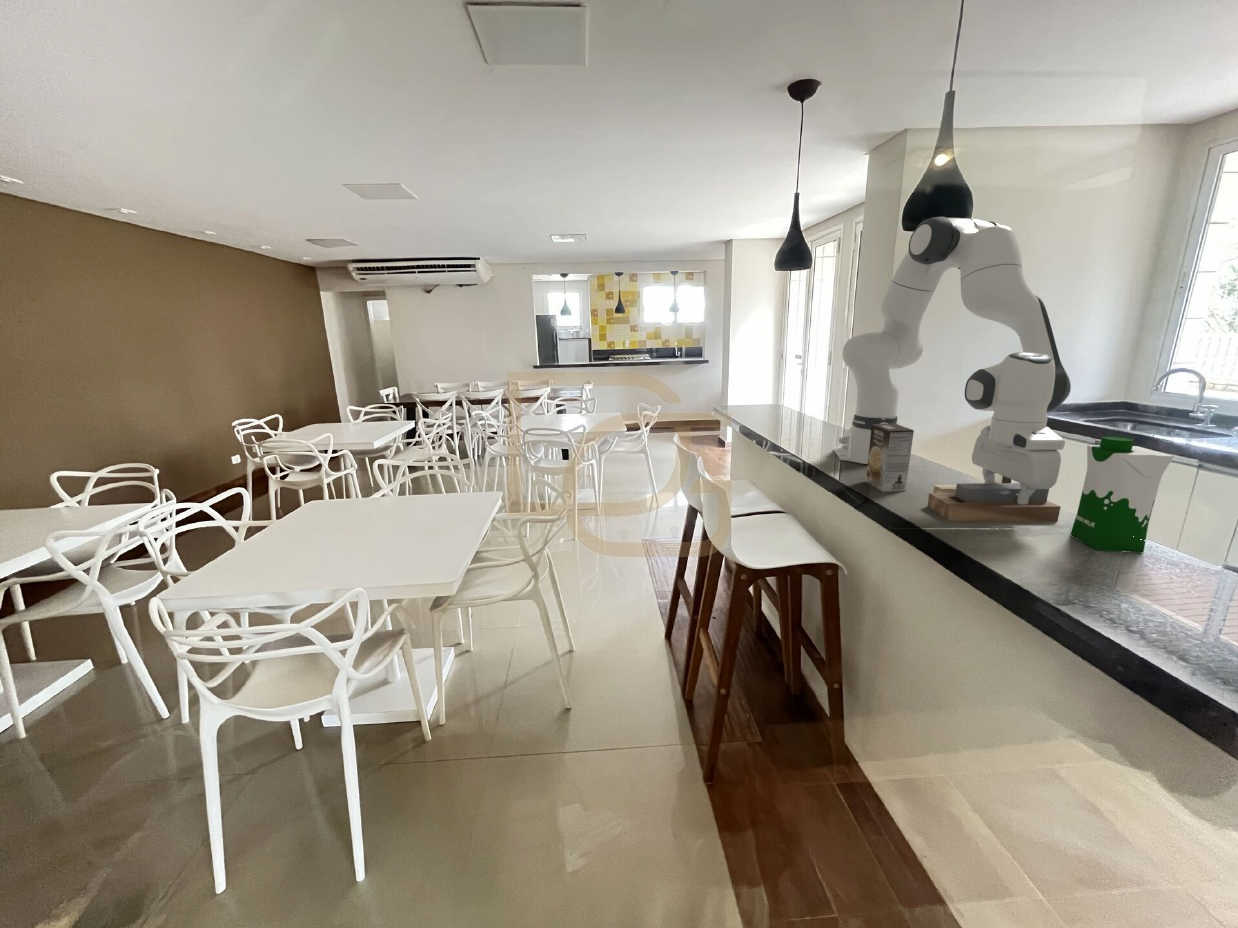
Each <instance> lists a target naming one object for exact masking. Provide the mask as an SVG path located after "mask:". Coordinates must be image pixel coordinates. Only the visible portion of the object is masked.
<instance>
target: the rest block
mask: <svg viewBox="0 0 1238 928" xmlns="http://www.w3.org/2000/svg"><path fill="white" fill-rule="evenodd" d="M956 486H957V484H934V486H933V492H932V493H955V492H956Z"/></svg>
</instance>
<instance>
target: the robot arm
mask: <svg viewBox="0 0 1238 928" xmlns="http://www.w3.org/2000/svg"><path fill="white" fill-rule="evenodd" d="M909 238H910V239H909V240H908V241H909V242H908V251H907V252H906V254H905V255H904V257H903V258H902V261H901V262H900V264H899V265H898V267H897V269H896V271H895V273H894V275H893V277H892V280H891V282H890V283H889V286H888V289H887V291H886V293H885V295H884V298H883V300H882V303H881V304H880V305H881V306H880V310H881V313H882V315H883V316H884V317H885V319H884V320H885V321H884V326H883V328H882V330H881V331H879V332H878V331H877V332H863V333H860V334H858V335H855V336H852V337H850V338H849V339H848V340H847V341H846V342H845V343H844V346H843V348H842V359H843V363H844V364H845V365H846V367H848V368H849V370H850V371H851V372H852V375H853V376H854V380H855V383H856V390H857V392H856V393H857V394H856V396H857V397H856V409H855V414H854V415H853V418H852V423H851V427H850V428H848V429H847V431H845V432H844V433H843V435H842V436H839V439H838V443H839V444H840V445H841V446H840V445H839V446H834V447H833V451H834V452H835V454H836V456H837V457H838V459H839V460H840V461H845V462H846V461H848V462H852V463H857V464H863V465H865V464H866V465H867V464H868V455H869V446H870V437H871V427H872V424H893V423H896V424H899V423H898V415H897V413H898V403H899V395H900V393H899V392H900V391H899V389H898V387H897V386H896V385H895V384H893V382H892V380H891V375H890V370H893V369H894V370H896V369H902V368H905V367H908V366H910V365H913V364H915V363H916V362H918V361H919V359H920V358H921V356H922V354H923V350H924V344H923V343H924V342H923V341H922V339H921V338H920V330H921V325H922V320H923V317H924V314H925V313H926V311H927V307H928V305H929V304H930V301H931V300H932V297H933V295H934V293H935V291H936V289H937V287H938V284H939V283H940V281H941V277H942V276H943V274H944V273H945V272H946V271H947V270H949V269H952V268H954V269H955V268H957V269H958V270H959V271H960V274H959V275H960V296H961V300H962V303H963V306H964V307H965V308H966V309H967V310H968V311H969V312H971V314H973V315H975V316H977V317H980V318H982V319H987V320H990V321H994V322H997V323H1000V324H1002V325H1005V327H1009V329H1010V328H1011V329H1012V331H1014V332H1015V333H1016V334H1017V336H1018V337H1019V341H1020V345H1021V348H1022V352H1014V353H1011V354H1008V355H1006V356H1005V358H1004V359H1003V361H1001V362H999V363H997V364H995V365H991V366H989V367H984V368H980V369H977V370H976V371H974V372H973V373H972V374H971V375H970V376H969V377H968V379H967V381H966V383H965V387H964V399H965V401H966V402H967V404H968V405H969V406H970V407H972V408H973V409H975V410H979V411H984V412H985V411H986V412H993V415H992V416H991V420H990V425H986V426H984V428H983V429H981V430H980V434H979V435H978V436H977V438H976V440H975V443H974V446H973V450H972V453H971V461H972V464H973V465H975V466H978V467H980V468H982V477H983V480H984V483H998V482H997V481H996V477H995V474H998V475H1000V476H1002V477H1004V478H1007V479H1010V480H1012V481H1014V482H1017V483H1021V484H1020V488H1022V490H1021V491H1020V493H1019V494H1015V499H1014V502H1016V503H1018V504H1027V503H1028V500H1029V496H1031V495H1032V494H1033V492H1034V491H1035V490H1036V489H1049V490H1050V489H1052V488H1053V487H1054V486H1055V485H1056V483H1057V481H1058V478H1059V473H1060V469H1061V463H1062V456H1061V453H1060V452H1059V451H1061V450H1063V449H1065V445H1066V441H1065V439H1064V438H1063V437H1062V436H1060V435H1059V434H1057V433H1056V432H1055V431H1053V429H1051V428H1050V427H1049V426H1047V424H1048V413H1050V412H1052V411H1053V410H1055V409H1057V408H1058V407H1059V406H1061V405H1062V404H1063V403H1064V402H1065V401H1066V399H1067V398H1068V397H1069V396H1070V393H1071V390H1072V389H1071V388H1072V385H1071V380H1070V377H1069V375H1068V373H1067V371H1066V369H1065V368H1064V366H1063V363H1062V361H1061V358H1060V354H1059V351H1058V348H1057V344H1056V339H1055V337H1054V332H1053V329H1052V325H1051V322H1050V318H1049V314H1048V311H1047V309H1046V306H1045V304H1044V302H1043V300H1042V299H1041V298H1040V297H1039V296H1037V295H1036V294H1034V292H1033V291H1032V290H1031V289H1030V287H1029V285H1028V283H1027V282H1026V279H1025V276H1024V273H1023V272H1024V271H1023V264H1022V263H1023V261H1022V256H1021V255H1022V254H1021V251H1020V250H1021V249H1020V246H1019V243H1018V239H1017V236H1016V234H1015V232H1014V230H1013V229H1012V228H1010V227H1009V226H1006V225H1003V224H1000V223H997V222H995V221H985V220H981V219H977V218H971V217H964V218H961V217H946V216H936V217H935V216H934V217H929V218H927V219H924V220H923V221H921V222H920V223H919V224H918V225H917V226H916V228H914V230H913V232H912V234H911V236H910V237H909Z"/></svg>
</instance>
